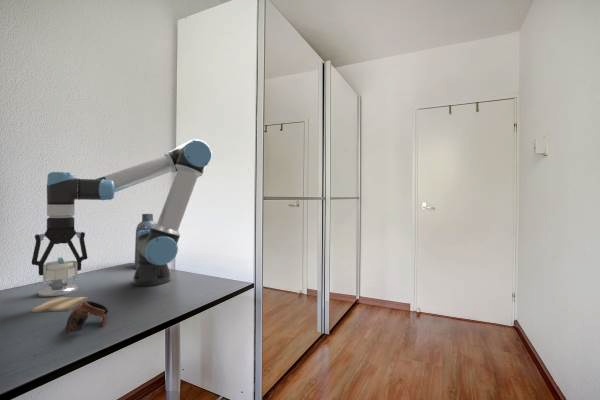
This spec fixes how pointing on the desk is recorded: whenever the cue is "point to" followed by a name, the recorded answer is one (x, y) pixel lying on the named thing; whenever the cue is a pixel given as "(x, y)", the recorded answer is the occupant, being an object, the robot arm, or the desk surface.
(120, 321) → the desk surface
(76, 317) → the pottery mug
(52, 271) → the cap
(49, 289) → the bayonet post
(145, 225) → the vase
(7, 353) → the desk surface
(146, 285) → the robot arm
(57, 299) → the coaster
